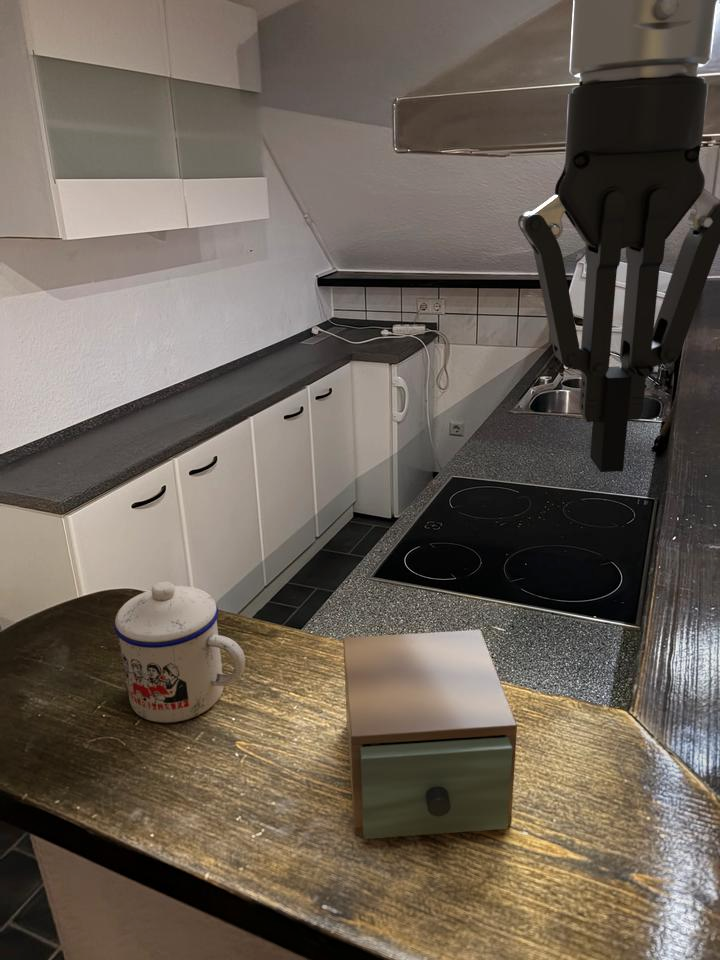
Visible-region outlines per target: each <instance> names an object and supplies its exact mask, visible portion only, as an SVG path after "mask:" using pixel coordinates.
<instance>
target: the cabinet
mask: <svg viewBox="0 0 720 960" xmlns="http://www.w3.org/2000/svg"><path fill="white" fill-rule="evenodd" d="M342 641H343V643H342V644H343V664H344V665H343V667H344V690H345V691H344V692H345V715H346V716H345V717H346V718H345V719H346V732H347V733H346V735H347V747H348V762H349V774H350V775H349V776H350V791H351V803H352V816H353V817H352V818H353V829H354V836H356V837H357V836H363V821H362V791H361V761H360V747H365V746H364V744H377V743H392V742H407V741H422V740H437V739H453V738H468V737H483V736H493V738H502V737H508V738H509V741H510V743H511V746H512V763H511V779H510V796H509V812H508V826H509V825H512V814H513V801H514V798H513V797H514V782H515V765H516V751H517V733H518V724H517V722H516V718H515V716H514V714H513V710H512V709H511V705H510V703H509V701H508V698H507V695H506V693H505V690H504V688H503V684H502V682H501V679H500V677H499V674H498V671H497V669H496V666H495V664H494V661H493V658H492V656H491V654H490V651H489V649H488V648H489V647H488V645H487V642H486V639H485V638H484V635H483V632H482V630H481V629H467V630H452V631H451V630H449V631H434V632H433V631H431V632H417V633H401V634H399V633H398V634H383V635H365V636H350V637H343V639H342Z"/></svg>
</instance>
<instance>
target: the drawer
mask: <svg viewBox="0 0 720 960" xmlns="http://www.w3.org/2000/svg"><path fill="white" fill-rule="evenodd" d="M364 746H365V747H360V761H361V791H362V821H363V835H362V836H363V839H364V840H369V839H370V840H371V839H385V838H397V837H411V836H412V837H413V836H426V835H439V834H451V833H467V832H479V831H493V830H506V829H508V826H509V825H508V812H509V796H510V779H511V763H512V746H511V743H510V741H509V738H508V737H502V738H493V736H483V737H468V738H453V739H437V740H422V741H407V742H392V743H377V744H364Z"/></svg>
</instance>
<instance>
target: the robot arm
mask: <svg viewBox="0 0 720 960" xmlns="http://www.w3.org/2000/svg"><path fill="white" fill-rule="evenodd" d="M572 1H573V3H572V18H571V19H572V21H571V38H570V39H571V40H570V53H569V55H570V57H569V73H570V74H571V75H572V76H574V77H575V78H579V83H578V86H575V87H573V88H571V93H569V94H568V95H567V112H566V113H567V114H566V133H565V134H566V135H565V152H564V156H565V157H564V166H563V168H562V169H563V170H562V172H561V174H560V176H559V178H558V180H557V182H556V184H555V187H554V195H553V196H551V197H550V198H549V199H548V200H546V201H545V202H543V203H542V204H540V205H539V206H538V207H537V208H535V209H533V210H532V211H524V212H523V213H521V214H520V216H519V217H518V219H517V225H518V227H519V229H520V231H521V233H522V234H523V236H524V237H525V239H526V240H527V242H528V244H529V245H530V247H531V248H532V251H533V254H534V255H533V256H534V260H535V264H536V270H537V275H538V279H539V285H540V289H541V295H542V300H543V304H544V309H545V314H546V320H547V325H548V330H549V335H550V339H551V344H552V345H551V346H552V350H553V353H554V356H555V357H556V358H557V359H558V361H560V363H561V364H562V365H563V366H564V367H565V368H568V369H575V370H578V371H580V373H581V377H580V380H581V381H580V393H579V394H580V395H579V411H580V414H581V417H582V418H583V419H584V421H586V423H592V426H591V440H590V453H589V458H590V460H592V462H593V464H594V465H595V466H596V468H597V469H598V470H599V472H600V473H612V472H614V473H615V472H624V465H625V454H626V444H627V443H626V441H627V431H628V421H637V420H638V421H639V420H640V419H641V416H642V414H643V411H644V402H645V392H646V383H647V378H649V377H650V376H651V375H652V374H653V373H654V370H655V367H657V366H660V365H663V364H674V363H675V362H676V361H677V360H678V359H679V357H680V355H681V352H682V349H683V347H684V344H685V341H686V338H687V335H688V334H689V333H688V332H689V330H690V328H691V324H692V322H693V319H694V316H695V313H696V311H697V308H698V305H699V302H700V299H701V296H702V294H703V291H704V288H705V285H706V283H707V280H708V278H709V274H710V273H711V272H710V271H711V269H712V266H713V264H714V260H715V257H716V255H717V252H718V250H719V246H720V198H718V197H717V196H715V195H714V194H712V193H711V192H710V191H708V190H707V189H705V185H706V179H705V174H704V172H703V170H702V167H701V162H700V152H701V147H702V143H703V137H704V136H703V135H704V127H705V119H706V109H707V102H708V101H707V100H708V91H709V83H706V79H705V77H701V76H698V72H699V68H703V67H705V66H706V65H707V64H708V63H709V62H710V61H711V60H712V52H713V45H714V35H715V25H716V18H717V17H716V16H717V9H718V4H720V0H572ZM689 211H690V212H689ZM688 212H689V215H688V217H687V220H686V222H687V226H688V228H689V229H688V231H687V233H686V235H685V237H684V239H683V242H682V244H681V246H680V250H679V252H678V255H677V259H676V261H675V264H674V267H673V270H672V273H671V275H670V279H669V281H668V285H667V288H666V291H665V294H664V296H663V299H662V303H661V306H660V308H659V311H658V313H657V317H656V309H657V308H656V307H657V297H658V290H659V289H658V288H659V279H660V278H659V277H660V269H661V265H662V264H663V262H664V258H665V248H666V240H667V239H668V238H669V237H670V235H671V234H672V233H673V231H675V229H676V227H677V226H678V225H679V224H680V222H682V220H683V218H684V217H685V216H686V215H687V214H688ZM564 214H565V216H566V217H567V218H568V220H569V221H570V223H571V224H572V226H573V228H574V229H575V231H576V232H577V234H578V235H579V237H580V238H581V240H582V241H583V242H584V243H585V251H584V252H585V253H584V259H585V263H586V266H585V267H586V269H585V282H584V283H585V284H584V285H585V286H584V296H583V299H584V300H583V315H582V328H581V331H582V332H581V343H579V338H578V332H577V326H576V321H575V317H574V311H573V305H572V300H571V295H570V290H569V289H570V288H569V284H568V278H567V273H566V268H565V263H564V257H563V252H562V249H561V247H560V244H559V241H558V240H557V239H559V238H560V237H561V235H562V233H563V230H564V225H563V222H562V218H563V216H564ZM622 249H625V259H626V273H625V274H626V275H625V277H626V278H625V286H624V297H623V298H624V299H623V300H624V301H623V312H622V325H621V337H620V350H619V361H620V362H621V364H620V365H621V366H610V360H611V347H612V336H613V335H612V333H613V323H614V309H615V299H616V288H617V287H616V286H617V285H616V284H617V274H618V268H619V266H620V264H621V256H622V255H621V254H622ZM655 319H656V320H655ZM580 344H581V345H580Z"/></svg>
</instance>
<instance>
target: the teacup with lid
mask: <svg viewBox="0 0 720 960" xmlns="http://www.w3.org/2000/svg"><path fill="white" fill-rule="evenodd" d="M218 616H219V608H218V605H217V603H216V600H215V599H214V598H213V597H212V595H210V593H208V592H207V591H204V590H202V589H199V588H197V587H192V586H186V585H175V584H173V583H172V582H170V581H167V580H165V581H159V582H157V583H155V584H154V585H152V587H151V589H149V590H145V591H143V592H142V593H139V594H137V595H136V596H134V597H132V598H130V599H129V600H128V601H126V602H125V603H124V604H123V605H122V606H121V607H120V608H119V610H118V611H117V613H116V615H115V620H114V625H113V627H114V628H113V629H114V632H115V634H116V636H117V637H118V639H119V646H120V652H121V657H122V663H123V668H124V669H123V670H124V675H125V682H126V687H127V693H128V699H129V704H130V705H131V706H130V707H131V709H132V710H133V711H134V712H135V713H136V714H137V716H139V717H141V718H143V719H144V720H148V721H151V722H155V723H164V724H165V723H178V722H183V721H186V720H190V719H192V718H195V717H198V716H199V715H201V714H203V713H205V712H206V711H208V710H209V709H211V708H213V706H214V705H215V704H216V703H217V702H218V701H219V699H220V698H221V696H222V694H223V692H224V687H229V686H233V685H234V684H235V683H237V682H238V680H239V679H240V678H241V677H242V675H243V674H244V672H245V668H246V656H245V653H244V651H243V649H242V647H241V646H240V645H239V644H238V643H237V641H235V640H233V639H232V638H230V637H227V636H225V635H220V634H219V629H218V622H217V621H218V620H217V619H218ZM221 650H223V651H225V652H226V653H227V654H228V655H229V656H230V657H231V659H232V662H233V673H230V674H229V673H228V674H226V673H225V674H224V673H223V664H222V656H221V655H222V654H221Z"/></svg>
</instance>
